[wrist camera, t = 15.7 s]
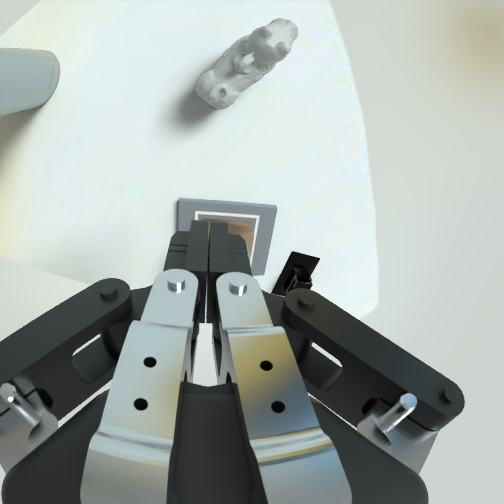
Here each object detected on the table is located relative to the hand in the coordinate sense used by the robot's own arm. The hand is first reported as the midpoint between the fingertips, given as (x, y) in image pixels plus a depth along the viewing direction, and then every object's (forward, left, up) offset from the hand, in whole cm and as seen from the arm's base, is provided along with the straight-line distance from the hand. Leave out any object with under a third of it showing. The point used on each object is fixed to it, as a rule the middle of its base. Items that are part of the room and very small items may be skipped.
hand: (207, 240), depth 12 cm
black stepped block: (+16, -22, -28) cm, 39 cm away
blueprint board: (+3, -15, -27) cm, 31 cm away
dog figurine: (+2, +10, -27) cm, 29 cm away
